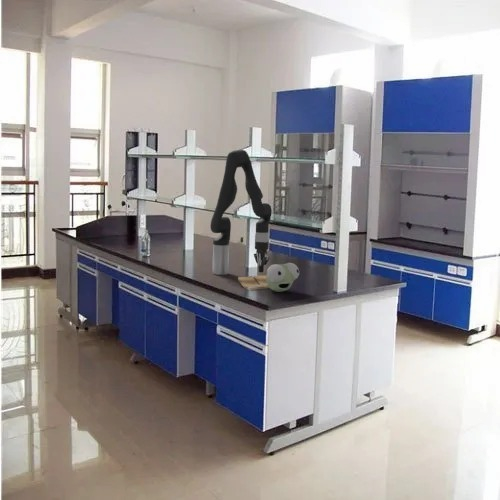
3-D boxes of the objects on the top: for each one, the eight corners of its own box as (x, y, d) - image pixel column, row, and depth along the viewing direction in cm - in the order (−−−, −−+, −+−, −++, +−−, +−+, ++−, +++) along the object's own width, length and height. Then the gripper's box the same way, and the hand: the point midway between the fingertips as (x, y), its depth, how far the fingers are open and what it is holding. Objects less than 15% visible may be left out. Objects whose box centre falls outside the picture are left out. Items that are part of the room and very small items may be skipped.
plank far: (253, 277, 323) (253, 276, 322) (266, 276, 327) (266, 274, 327) (259, 286, 317) (260, 284, 317) (273, 285, 321) (273, 283, 321)
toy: (274, 296, 295) (275, 266, 293) (256, 290, 307) (257, 262, 305) (302, 292, 306) (303, 263, 304) (284, 287, 318) (285, 259, 315)
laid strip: (244, 288, 312) (244, 285, 312) (273, 285, 321) (273, 283, 321) (249, 290, 308) (249, 288, 307) (278, 287, 317) (279, 285, 317)
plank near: (237, 279, 318) (238, 277, 317) (251, 277, 322) (251, 276, 322) (244, 288, 312) (245, 286, 312) (258, 286, 317) (258, 284, 316)
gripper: (249, 239, 324) (248, 270, 327) (262, 242, 313) (261, 274, 316) (261, 238, 328) (260, 269, 331) (274, 241, 317) (273, 273, 319)
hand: (261, 272), depth 323 cm, fingers closed
